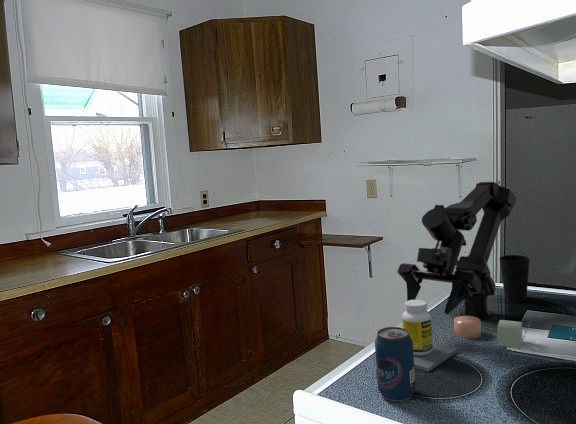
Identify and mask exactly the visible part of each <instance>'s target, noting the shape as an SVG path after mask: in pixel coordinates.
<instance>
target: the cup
mask: <svg viewBox="0 0 576 424" xmlns="http://www.w3.org/2000/svg"><path fill="white" fill-rule="evenodd" d="M499 264H500V271H501V278H502V279H501V280H502V285H503V286H502V287H503V292H504V300H506V301H507V302H513V303H521V302H526V301H527V300H528V299H527V297H528V287H529V286H528V281H529V271H530V257H528V256H525V255H521V254H509V255H507V254H506V255H502V256H500V257H499Z"/></svg>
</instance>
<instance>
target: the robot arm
mask: <svg viewBox="0 0 576 424" xmlns="http://www.w3.org/2000/svg"><path fill="white" fill-rule="evenodd" d="M516 203H517V198H516V194H515V193H514V192H513V191H512V190H511V189H509V188H508V187H507V188H506V187H505V186H502V185H499V184H498V182H495V181H479V182H477V183H476V185H475V188H474V189H472V190H471V191H470V192H469V193H468V194H467V195H466V196H465V197H464V198H463V199H462V200H461V201H460V202H456V203H452V204H450V205H448V206H446V207H445V206H444V204H435V205H434V207H433V208H432V209H429V210H428V211H427V212H426V213H425V214H424V215H422V218H421V223H422V225H423V227H424V228H425V229H426V230H427V232H428V233H429V235H430V237H432V239H433V240H435V241H436V244H435V246H434V248H433V247H432V248H427V247H425V248H424V247H419V248H418V252H417V258H416V259H417V260H416V262H418V263H423V264H422V267H423V268H424V269H426V270H420V268H419V267H418V266H417V265H416V264H415V263H414V264H412V263H401V264H400V265H399V266H398V268H397V272H396V273H397V274H398V275H399V276H400V277H401V278H402V279H403V281H404V282H405V284H406V299H407V300H406V301H408V300H417V297H418V295H419V292H420V290H421V288H422V286H421V284H422V282H423V280H427V281H428V280H429V281H435V282H440V283H441V282H442V283H448V284H449V283H450V284H451V291H450V294H449V295H448V299H447V301H446V304H445V309H444V314H445V315H449V314H450V313H451V312H452V311H453V310H454V309H455V308H456V307H458V306H459V304H460V303H462V302H463V301H464V303H463V304H464V310H463V311H462V312H460V313H459V316H473V317H477V318H479V319H480V320H481V321H484V320H485V319H487V318H488V317H490V316H492V315H493V314H494V311H492V310H489V309H488V308H489V306H488V305H489V304H488V302H489V301H488V297H489V296H495V292H496V283H495V281H494V279H493V278H492V277H491V274H492V273H491V271H490V268H489V265H488V262H489V259H490V256H491V252H492V250H493V246H494V244H495V241H496V238H497V235H498V232H499V229H500V226H501V223H502V221H503V220H504V219H506V218H508V216H509V215H511V213H512V211H513V209H514V207H515V206H516ZM481 210H482V212H483V215H482V218H481V221H480V223H479V227H478V229H477V230H476V235H475V237H474V239H473V240H474V241H473V243H472V246H471V249H470V251H469V254H468V255H467V256H466V255H465V256H464V255H461V256H460V253H461V250H462V248H463V246H464V247H466V246H467V241H466V239H465V236H464V234H463V233H462V231H470V232H471V231H472V229H473V228H474V227H475V226H476V224H477V221H478V219H477V214H478V213H479V212H480V211H481Z"/></svg>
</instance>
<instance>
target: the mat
mask: <svg viewBox="0 0 576 424" xmlns="http://www.w3.org/2000/svg"><path fill="white" fill-rule="evenodd" d="M432 343H433V350H432V352H431V353H430V354H427V355H423V356H416V355H414V369H417V370H420V371H423V372H427V373H429V372H430V371H432V370H433V369H435V368H436V367H437V366H439V365H441V364H442V363H443V362H445V361H446V360H448V359H449V358H451V357H452V356H453V355H455V354H456V353H458V349H457V348H456V347H452V346H449V345H444V344H442V343H441V344H440V343H436V342H434V341H432Z"/></svg>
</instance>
